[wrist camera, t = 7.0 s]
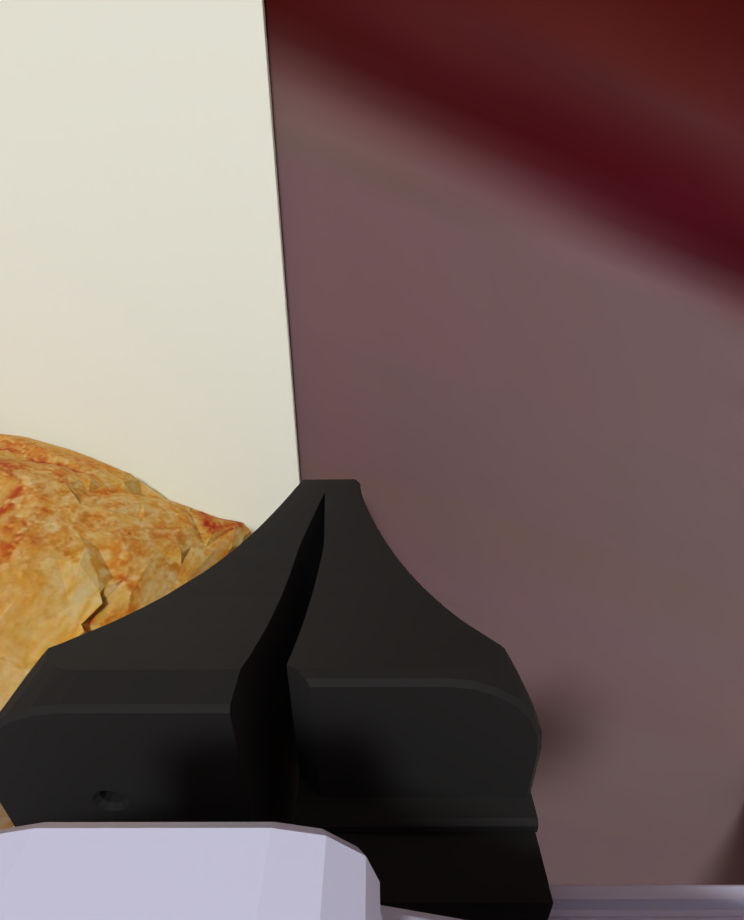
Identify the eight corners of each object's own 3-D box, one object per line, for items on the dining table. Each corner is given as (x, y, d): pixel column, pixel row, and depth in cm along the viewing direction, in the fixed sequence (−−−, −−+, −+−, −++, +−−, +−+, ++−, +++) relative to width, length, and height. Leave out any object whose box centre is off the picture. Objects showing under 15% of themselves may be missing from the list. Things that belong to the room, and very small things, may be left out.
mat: (-31, 696, 17) (-35, 701, 17) (-490, -136, 8) (-510, -145, 8) (317, 696, 17) (316, 702, 17) (253, -138, 8) (250, -146, 8)
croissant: (428, 611, 20) (565, 736, 12) (286, 843, 19) (337, 1141, 11) (-170, 252, 13) (-692, 31, 6) (-436, 578, 12) (-1513, 849, 5)
